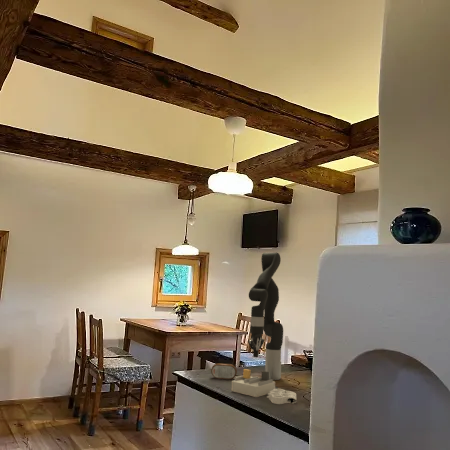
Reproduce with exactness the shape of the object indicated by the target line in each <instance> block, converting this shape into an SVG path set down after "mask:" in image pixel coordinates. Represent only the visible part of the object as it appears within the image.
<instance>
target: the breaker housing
mask: <svg viewBox="0 0 450 450" xmlns="http://www.w3.org/2000/svg"><path fill="white" fill-rule="evenodd" d="M242 378H243V375H239V376H235V377H234V380H231V389H230V390H231V392H234V393H238V394H242V395H247V396H251V397H254V398H258V397H261V396H265V395H268V393H270V391H272V390H273V389H275V386H276V381H275V380H273V379H269V380H266V381H260V380H261V377H259V376H251V377H250V378H248V379H242Z"/></svg>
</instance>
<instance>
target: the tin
mask: <svg viewBox="0 0 450 450" xmlns="http://www.w3.org/2000/svg"><path fill="white" fill-rule="evenodd" d="M210 372H211V376H212V377H213V378H214V379H217V380H218V379H220V380H233V379H235V377H237V374H238V370H237V367H236V366H235V365H234V364H231V363H222V362H221V363H217V362H216V363H215V364H213V365H212V367H211V369H210Z"/></svg>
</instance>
